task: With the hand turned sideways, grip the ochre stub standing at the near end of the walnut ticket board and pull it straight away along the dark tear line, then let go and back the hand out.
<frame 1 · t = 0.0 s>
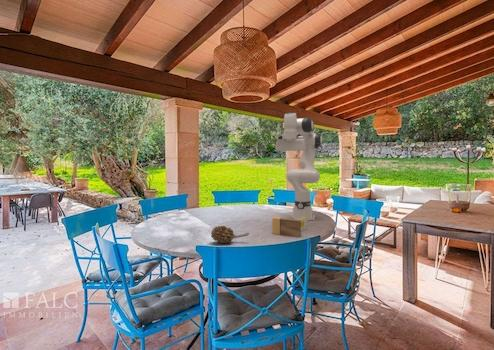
hand: (290, 157, 190), 48 cm above the table, tool pointing down, fingers open, 8 cm apart
pine cone: (230, 243, 162), on the table
ochre stub: (277, 225, 179), point 5 cm above the table, slide at 0.0 cm
candy box: (300, 232, 185), on the table
walnut ticket board: (290, 235, 175), on the table
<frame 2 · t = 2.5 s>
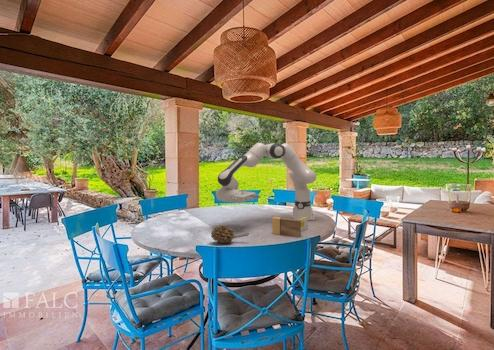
hand: (256, 197, 184), 22 cm above the table, tool horizontal, fingers open, 8 cm apart
nothing on the table moved.
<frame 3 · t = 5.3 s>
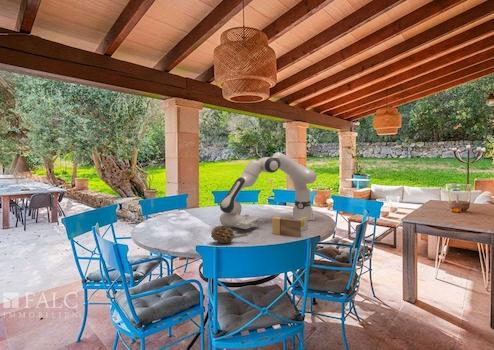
hand: (260, 223, 184), 5 cm above the table, tool horizontal, fingers open, 8 cm apart
nothing on the table moved.
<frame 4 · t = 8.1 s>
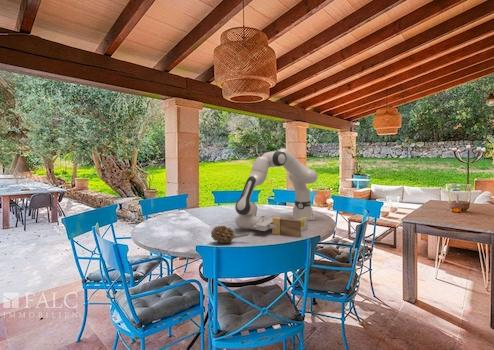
hand: (278, 225, 178), 6 cm above the table, tool horizontal, fingers closed on ochre stub, 3 cm apart
ochre stub: (277, 225, 179), point 5 cm above the table, slide at 0.0 cm, touching gripper
everything else where it was.
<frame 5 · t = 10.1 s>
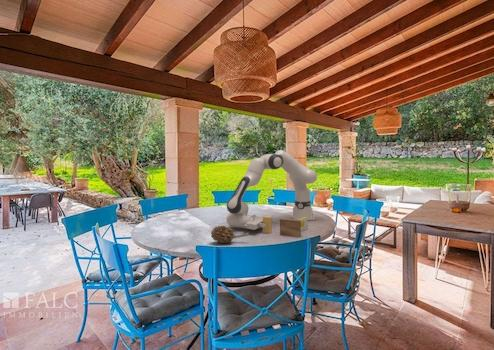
hand: (268, 224, 182), 6 cm above the table, tool horizontal, fingers closed on ochre stub, 3 cm apart
ochre stub: (267, 224, 182), point 5 cm above the table, slide at 6.7 cm, touching gripper
everything else where it was.
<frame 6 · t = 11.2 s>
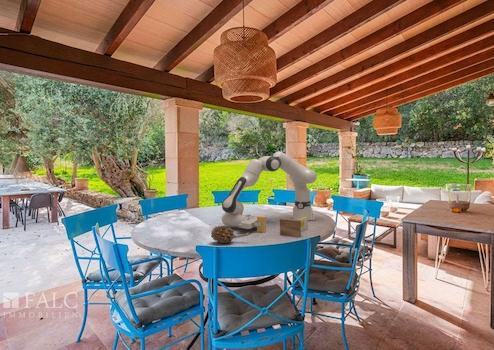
hand: (262, 223, 183), 6 cm above the table, tool horizontal, fingers closed on ochre stub, 3 cm apart
ochre stub: (261, 224, 184), point 5 cm above the table, slide at 10.6 cm, touching gripper
everything else where it was.
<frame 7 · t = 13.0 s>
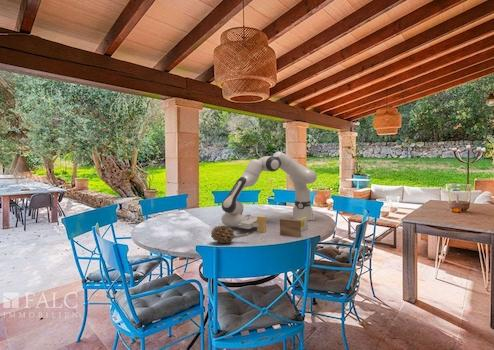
hand: (262, 223, 183), 6 cm above the table, tool horizontal, fingers open, 8 cm apart
ochre stub: (261, 223, 184), point 5 cm above the table, slide at 10.6 cm
everything else where it was.
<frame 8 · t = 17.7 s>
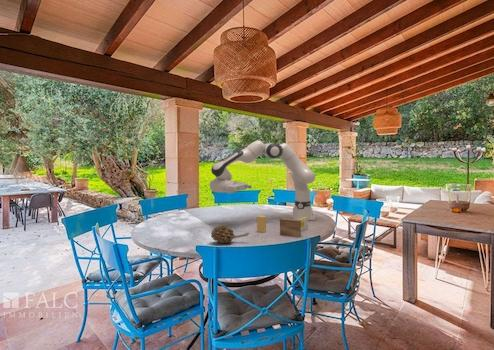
hand: (248, 187, 191), 28 cm above the table, tool horizontal, fingers open, 8 cm apart
nothing on the table moved.
at the end: ochre stub slide at 10.6 cm; the gripper is holding nothing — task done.
